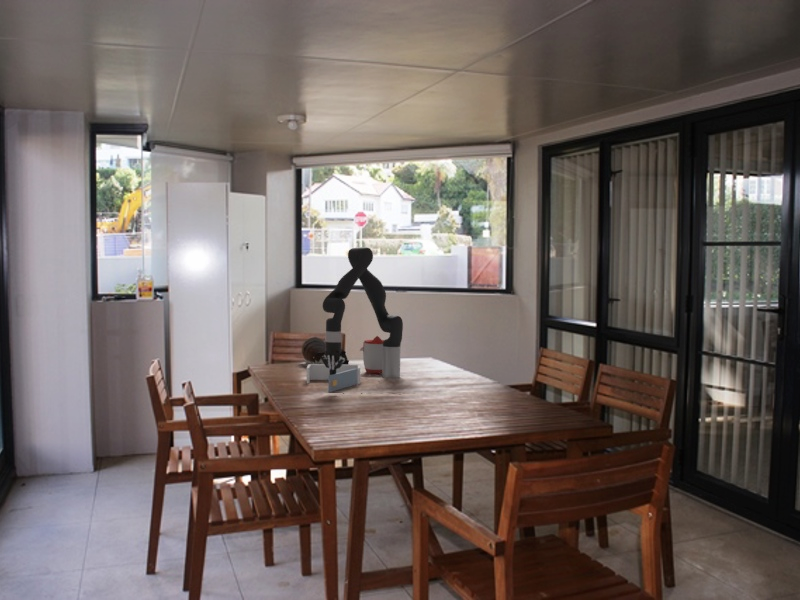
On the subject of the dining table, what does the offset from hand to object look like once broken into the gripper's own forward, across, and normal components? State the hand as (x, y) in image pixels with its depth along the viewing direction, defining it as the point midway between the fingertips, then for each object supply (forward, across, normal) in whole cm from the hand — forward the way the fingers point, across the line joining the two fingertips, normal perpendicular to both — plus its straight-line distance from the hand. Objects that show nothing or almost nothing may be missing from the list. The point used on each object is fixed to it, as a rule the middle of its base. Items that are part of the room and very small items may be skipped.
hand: (332, 377), depth 345 cm
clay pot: (+8, -49, +58) cm, 76 cm away
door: (+6, +3, +5) cm, 8 cm away
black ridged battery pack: (+8, -18, +31) cm, 37 cm away
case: (+7, -10, +16) cm, 21 cm away
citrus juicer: (+8, -11, +58) cm, 59 cm away
